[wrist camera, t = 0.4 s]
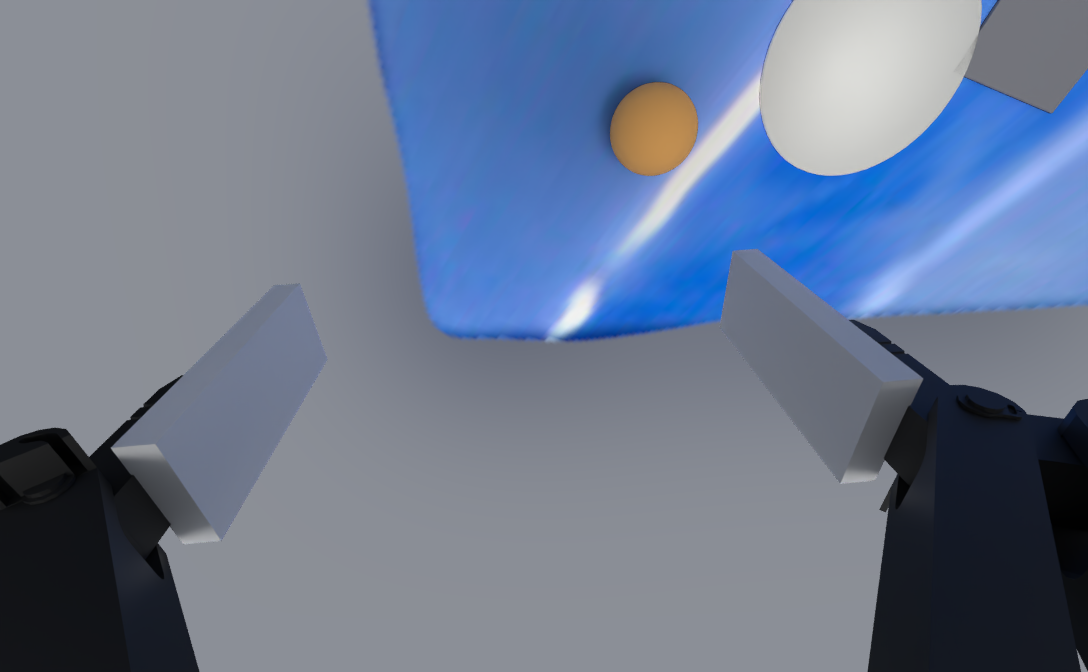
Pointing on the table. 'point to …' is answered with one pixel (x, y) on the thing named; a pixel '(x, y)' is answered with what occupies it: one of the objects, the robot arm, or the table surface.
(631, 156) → the ball
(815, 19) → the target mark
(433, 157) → the table surface
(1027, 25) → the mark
